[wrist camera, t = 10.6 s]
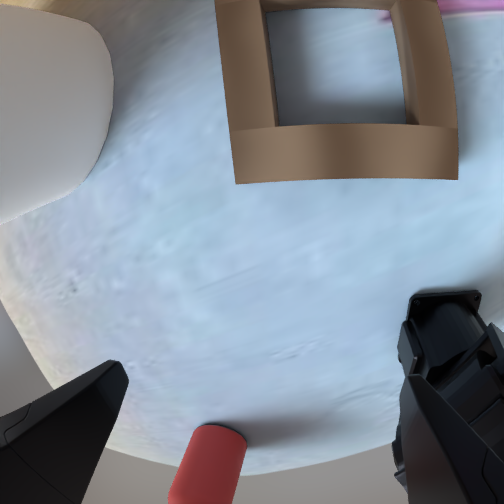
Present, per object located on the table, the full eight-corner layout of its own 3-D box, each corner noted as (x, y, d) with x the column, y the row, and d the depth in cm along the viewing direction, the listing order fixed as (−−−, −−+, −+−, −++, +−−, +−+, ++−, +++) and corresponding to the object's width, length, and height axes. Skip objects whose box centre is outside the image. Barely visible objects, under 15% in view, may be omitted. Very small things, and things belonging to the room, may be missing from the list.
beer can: (192, 416, 30) (155, 502, 20) (248, 428, 29) (222, 521, 19) (198, 443, 33) (168, 517, 22) (247, 453, 32) (226, 533, 21)
